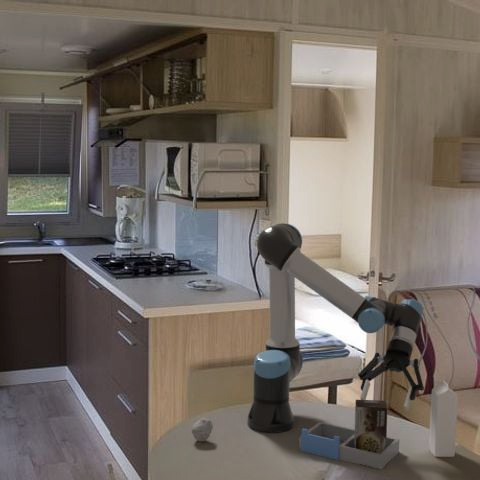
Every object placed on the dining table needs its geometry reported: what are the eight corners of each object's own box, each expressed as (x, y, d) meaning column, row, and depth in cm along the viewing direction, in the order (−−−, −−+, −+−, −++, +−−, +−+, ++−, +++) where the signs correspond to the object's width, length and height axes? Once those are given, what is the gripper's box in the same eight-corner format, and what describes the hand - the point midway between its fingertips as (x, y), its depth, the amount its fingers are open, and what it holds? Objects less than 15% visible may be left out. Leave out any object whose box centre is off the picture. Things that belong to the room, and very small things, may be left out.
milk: (447, 449, 227) (452, 378, 225) (454, 457, 221) (459, 385, 219) (428, 449, 227) (432, 378, 224) (434, 457, 221) (438, 384, 218)
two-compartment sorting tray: (298, 450, 224) (298, 428, 223) (319, 433, 237) (320, 413, 236) (380, 470, 211) (381, 447, 210) (398, 451, 224) (399, 430, 223)
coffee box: (383, 452, 224) (386, 400, 222) (386, 461, 217) (388, 407, 215) (353, 450, 225) (355, 398, 223) (354, 459, 218) (356, 405, 216)
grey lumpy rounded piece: (217, 440, 230) (217, 418, 229) (200, 446, 225) (200, 424, 224) (203, 435, 234) (204, 413, 233) (186, 440, 229) (187, 419, 228)
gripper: (442, 356, 231) (427, 418, 220) (366, 345, 244) (347, 402, 233) (439, 343, 226) (422, 406, 215) (361, 332, 238) (341, 391, 227)
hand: (383, 404), depth 224 cm, fingers open, 13 cm apart
